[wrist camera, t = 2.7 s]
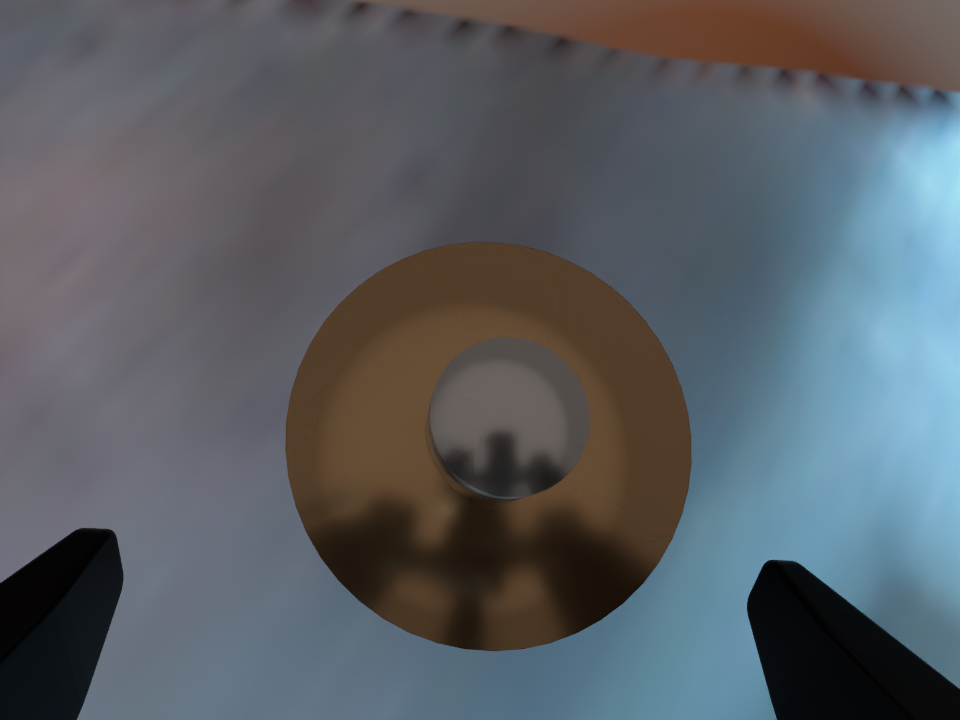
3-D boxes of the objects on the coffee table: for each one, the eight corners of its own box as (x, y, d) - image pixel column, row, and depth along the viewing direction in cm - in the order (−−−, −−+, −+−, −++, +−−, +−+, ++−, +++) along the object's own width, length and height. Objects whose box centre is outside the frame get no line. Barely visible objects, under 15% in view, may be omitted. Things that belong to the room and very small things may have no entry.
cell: (434, 614, 17) (557, 781, 5) (318, 516, 18) (164, 444, 5) (526, 493, 19) (809, 387, 6) (415, 402, 19) (474, 129, 6)
